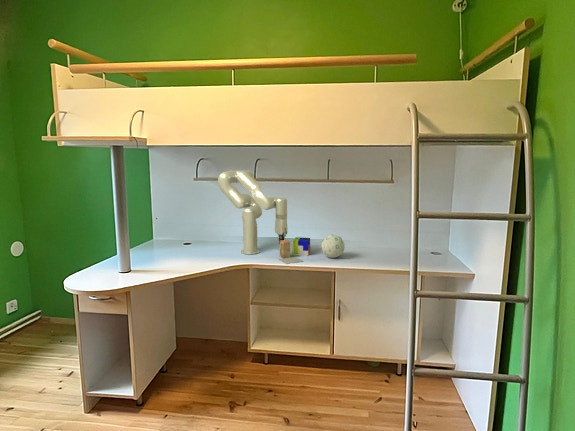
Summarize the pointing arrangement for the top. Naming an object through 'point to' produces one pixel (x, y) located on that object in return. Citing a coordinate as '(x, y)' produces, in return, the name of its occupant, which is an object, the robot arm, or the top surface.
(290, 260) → the rubber mat
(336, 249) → the puzzle ball
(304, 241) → the puzzle toy
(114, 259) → the top surface
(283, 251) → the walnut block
